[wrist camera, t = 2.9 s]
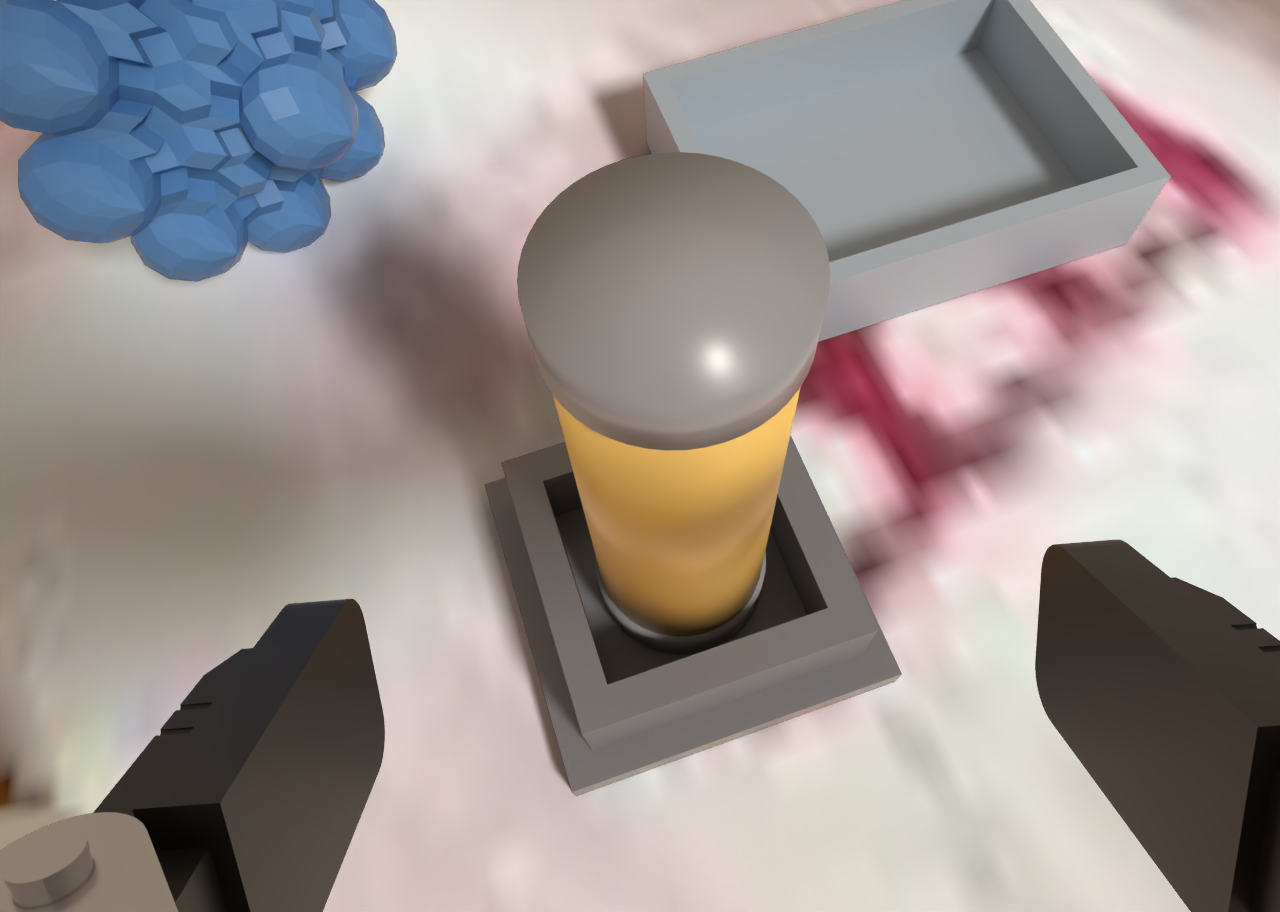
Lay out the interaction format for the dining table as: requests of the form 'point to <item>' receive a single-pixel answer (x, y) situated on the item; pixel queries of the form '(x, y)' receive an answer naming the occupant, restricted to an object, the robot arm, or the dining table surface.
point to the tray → (920, 147)
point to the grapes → (192, 119)
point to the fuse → (676, 376)
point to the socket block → (680, 683)
